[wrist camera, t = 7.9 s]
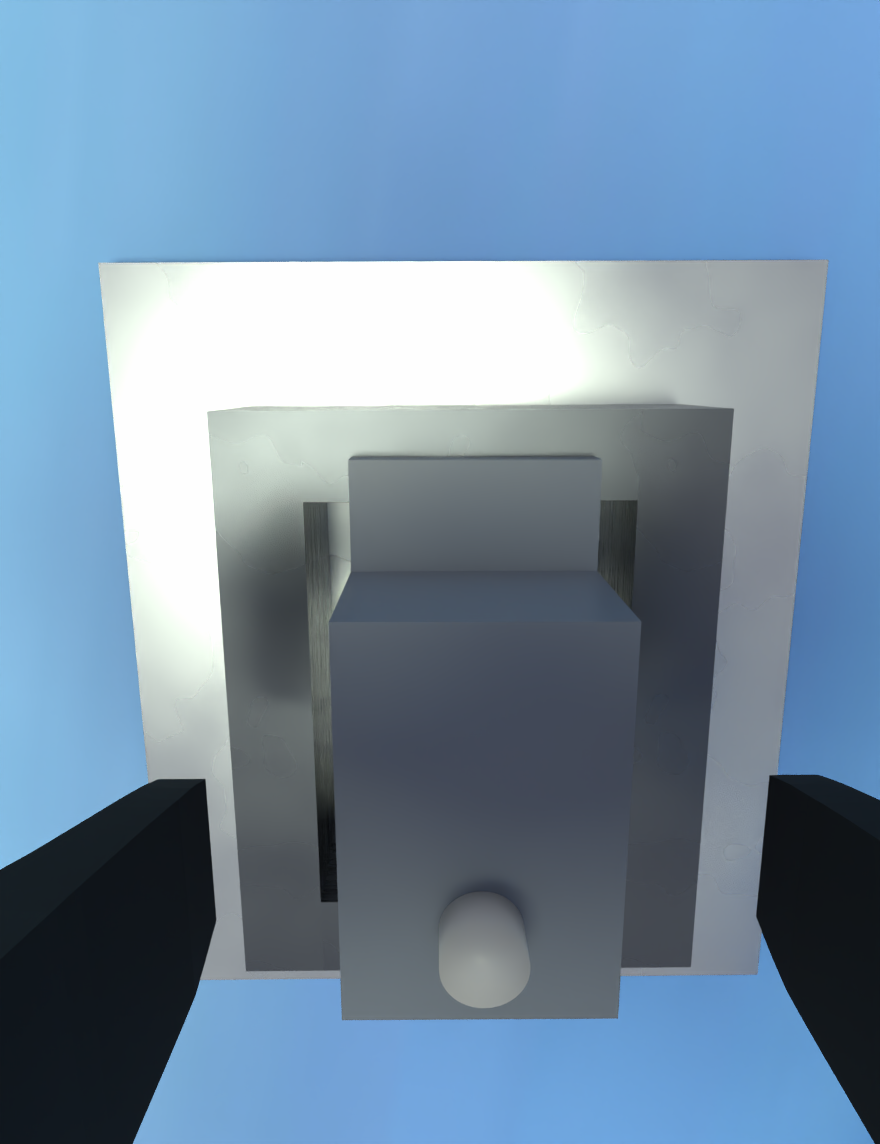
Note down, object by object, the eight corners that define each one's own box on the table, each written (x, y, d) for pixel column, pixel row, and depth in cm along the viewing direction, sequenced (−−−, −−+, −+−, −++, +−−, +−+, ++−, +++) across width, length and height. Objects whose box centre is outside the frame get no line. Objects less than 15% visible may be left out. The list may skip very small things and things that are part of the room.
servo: (565, 443, 16) (668, 489, 9) (550, 866, 18) (624, 1170, 11) (366, 443, 16) (314, 490, 9) (376, 867, 18) (339, 1172, 11)
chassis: (814, 264, 16) (920, 230, 12) (747, 957, 20) (815, 1081, 16) (110, 267, 16) (19, 234, 12) (175, 962, 20) (119, 1088, 16)
